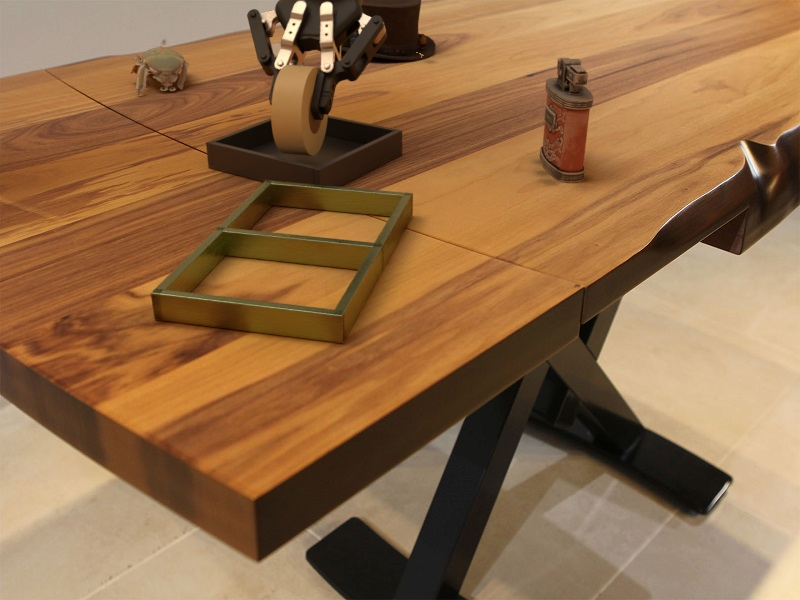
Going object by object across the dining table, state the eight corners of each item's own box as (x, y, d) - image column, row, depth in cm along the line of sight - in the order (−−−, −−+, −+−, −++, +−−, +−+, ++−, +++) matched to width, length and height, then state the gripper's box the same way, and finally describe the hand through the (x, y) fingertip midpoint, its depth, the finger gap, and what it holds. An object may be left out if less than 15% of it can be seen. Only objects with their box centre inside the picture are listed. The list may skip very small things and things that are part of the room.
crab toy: (96, 82, 103) (100, 40, 101) (155, 78, 113) (159, 40, 111) (155, 102, 101) (160, 59, 99) (210, 96, 110) (215, 57, 108)
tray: (208, 167, 80) (205, 142, 79) (296, 131, 90) (295, 108, 89) (320, 197, 74) (319, 169, 73) (402, 154, 84) (402, 130, 83)
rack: (154, 320, 55) (150, 292, 55) (267, 201, 73) (265, 179, 72) (342, 343, 53) (342, 315, 52) (412, 215, 71) (413, 192, 70)
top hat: (379, 35, 133) (379, -37, 128) (456, 50, 124) (459, -27, 119) (309, 51, 123) (305, -26, 118) (387, 68, 114) (386, -14, 109)
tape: (279, 170, 79) (264, 95, 73) (304, 121, 85) (292, 48, 79) (309, 173, 79) (296, 97, 73) (332, 124, 84) (322, 50, 78)
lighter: (533, 153, 84) (541, 50, 80) (566, 152, 85) (577, 49, 80) (555, 183, 77) (565, 72, 73) (591, 181, 78) (604, 71, 73)
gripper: (251, -75, 80) (211, 88, 76) (397, -71, 78) (364, 98, 73) (274, -24, 87) (239, 128, 83) (408, -18, 85) (380, 139, 80)
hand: (298, 113), depth 78 cm, fingers closed on tape, 3 cm apart
